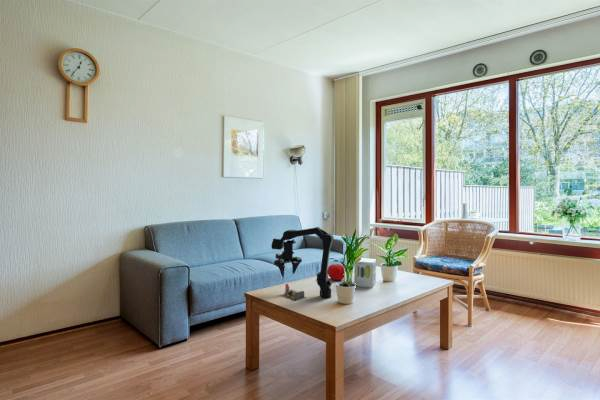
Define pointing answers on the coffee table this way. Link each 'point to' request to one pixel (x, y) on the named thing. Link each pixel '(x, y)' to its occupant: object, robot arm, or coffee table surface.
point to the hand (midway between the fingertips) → (287, 274)
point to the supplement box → (365, 272)
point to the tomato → (336, 272)
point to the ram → (287, 291)
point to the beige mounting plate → (297, 296)
